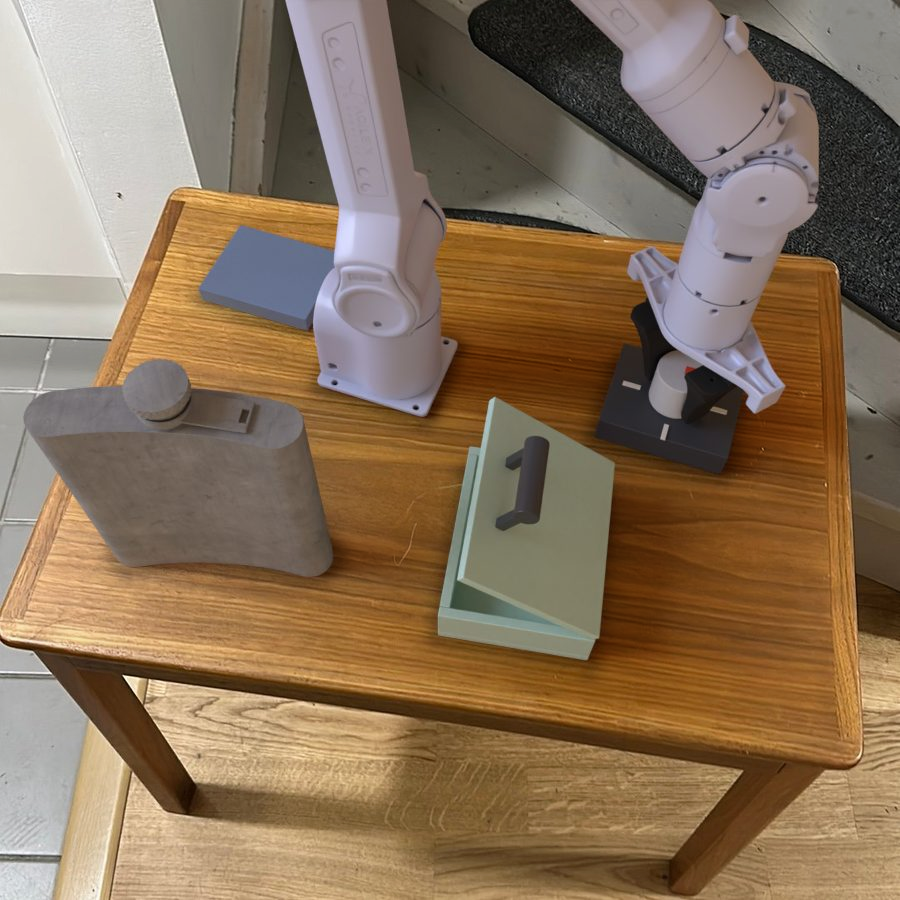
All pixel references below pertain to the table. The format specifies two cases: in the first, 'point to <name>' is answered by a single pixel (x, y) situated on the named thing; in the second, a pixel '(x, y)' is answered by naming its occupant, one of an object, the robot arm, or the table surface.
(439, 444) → the table surface
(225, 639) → the table surface
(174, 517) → the hip flask
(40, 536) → the table surface
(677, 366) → the dial
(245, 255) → the flat blue-gray rectangular slab
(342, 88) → the robot arm
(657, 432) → the console
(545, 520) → the box lid
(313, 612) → the table surface
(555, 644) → the open box
